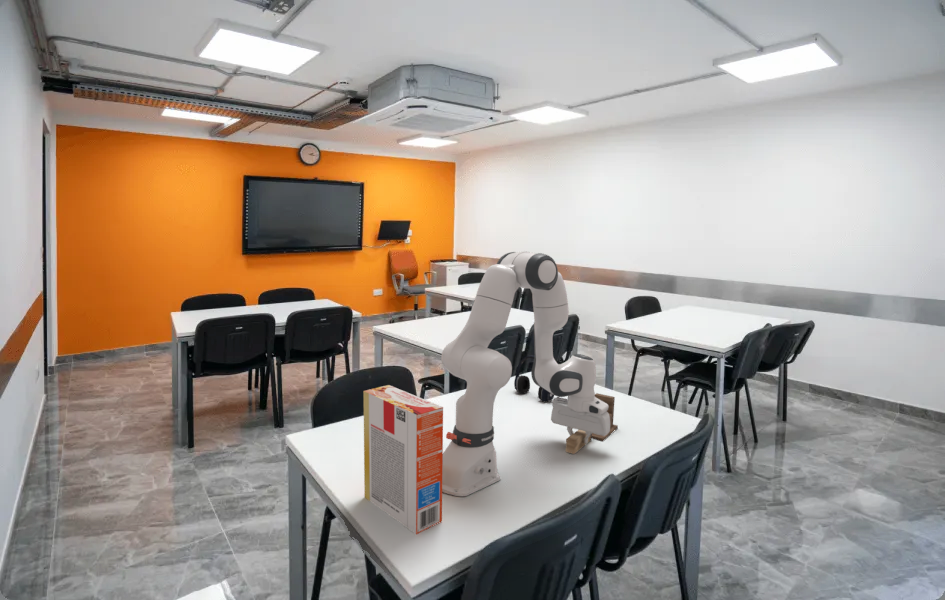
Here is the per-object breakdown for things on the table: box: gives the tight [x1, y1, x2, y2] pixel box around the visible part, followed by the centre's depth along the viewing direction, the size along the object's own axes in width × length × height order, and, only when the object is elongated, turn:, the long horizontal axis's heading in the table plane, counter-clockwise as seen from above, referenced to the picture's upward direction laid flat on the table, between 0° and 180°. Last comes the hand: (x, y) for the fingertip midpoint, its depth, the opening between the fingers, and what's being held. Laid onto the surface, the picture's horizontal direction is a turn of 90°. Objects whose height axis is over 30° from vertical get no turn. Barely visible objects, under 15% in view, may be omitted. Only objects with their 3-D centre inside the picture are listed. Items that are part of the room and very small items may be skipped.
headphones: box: [513, 354, 555, 402], centre depth 226 cm, size 20×7×18 cm, turn 42°
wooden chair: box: [591, 392, 619, 442], centre depth 189 cm, size 15×10×12 cm, turn 145°
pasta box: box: [362, 384, 444, 535], centre depth 134 cm, size 23×8×30 cm, turn 44°
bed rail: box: [565, 429, 592, 455], centre depth 177 cm, size 15×3×5 cm, turn 145°
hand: (578, 441), depth 176 cm, fingers closed on bed rail, 3 cm apart
